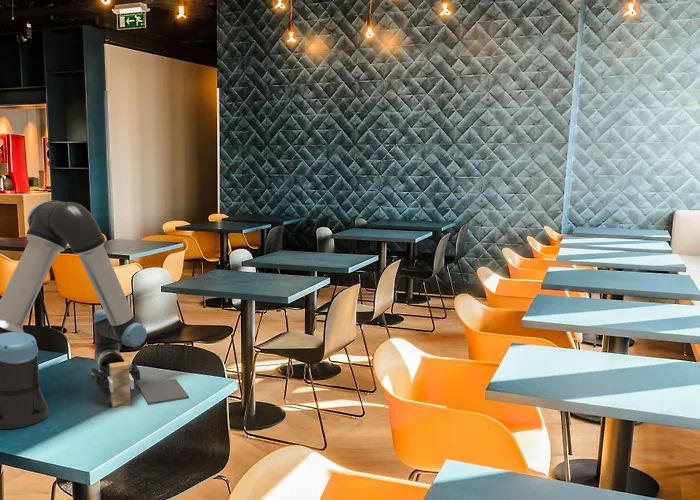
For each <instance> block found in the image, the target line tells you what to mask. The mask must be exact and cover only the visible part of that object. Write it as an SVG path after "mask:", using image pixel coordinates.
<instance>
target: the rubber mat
mask: <svg viewBox="0 0 700 500" xmlns="http://www.w3.org/2000/svg"><path fill="white" fill-rule="evenodd" d="M137 387H138V389H139V390H140V393H141V394H142V396H143V398H144V400H145V402H146V403H147V405H148V406H149V405H155V404H162V403H166V402H175V401H180V400H186V399H190V396H189V394H188V393H187V392H186V390H185V389H184V388H183V386H182V385H181V384H180V383H179V381H178V380H177V379H176V378H171V379H166V380H165V379H163V380H160V381H158V380H157V381H152V382H146V383H139V384H137Z"/></svg>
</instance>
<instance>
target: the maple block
mask: <svg viewBox="0 0 700 500" xmlns="http://www.w3.org/2000/svg"><path fill="white" fill-rule="evenodd" d="M129 366H130V364H129V363H128V361H125V362H118V363H111V364H109V372H110V377H111V380H112V382H113V390H114V392H110V405H111V406H112V408H117V407H123V406H128V405H131V404H132V401H131V387H130V381H129Z"/></svg>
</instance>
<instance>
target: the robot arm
mask: <svg viewBox="0 0 700 500" xmlns="http://www.w3.org/2000/svg"><path fill="white" fill-rule="evenodd" d="M27 224H28V230H27V232H26V233H25V238H26V240H27V244H26V246H25V248H24V251H23V253H22V255H21V257H20V258H19V261H18V263H17V265H16V267H15V269H14V271H13V273H12V275H11V277H10V280H9V281H8V284H7V285H6V287H5V289H4V292H3V294H2V295H1V298H0V430H12V429H20V428H24V427H28V426H32V425H35V424H37V423H40V422H42V421H43V420H45V419H46V418H47V417H48V416H49V406H48V404H47V400H46V399H45V397H44V394H43V392H42V389H41V387H40V372H39V371H40V369H39V367H40V366H39V347H38V344H37V340H36V338H35V337H34V336H33V335H32V334H30V333H27V332H25V331H24V327H23V326H24V324H25V322H26V320H27V319H28V316H29V313H30V311H31V310H32V307H33V306H34V304H35V301H36V299H37V296H38V294H39V293H40V291H41V289H42V286H43V285H44V282H45V280H46V278H47V277H48V274H49V272H50V269H51V267H52V265H53V263H54V261H55V259H56V257H57V254H60V253H61V252H64V251H65V250H66V248H67V246H68V245H69V247H70V249H71V252H72V253H73V254H74V255H77V256H78V258H79V259H80V262H81V264H82V266H83V268H84V270H85V273H86V275H87V277H88V279H89V281H90V283H91V286H92V287H93V290H94V292H95V294H96V296H97V298H98V300H99V302H100V305H101V307H102V308H101V309H98V310H96V311H95V312H94V313H93V330H94V331H93V332H94V359H95V361H96V362H97V364H98V368H95V367H93V368H91V377H92V378H93V379H94V381H95V384H96V386H101V385H103V388H104V389H106V388H108V389H109V393H111V392H114V390H113V382H112V380H111V377H110V372H109V364H111V363H118V362H126V361H125V360H124V357H123V356H122V354H121V352H120V344H121V345H124V346H127V347H133V348H134V347H139V346H141V345H142V344H143V343H144V342H145V341H146V338H147V335H148V334H147V333H148V331H147V329H146V327H145V326H144V324H142V323H140V322H138V321H137V320H136V317H135V315H134V313H133V311H132V309H131V306H130V303H129V300H128V299H127V296H126V295H125V292H124V289H123V288H122V285H121V282H120V281H119V278H118V276H117V273H116V272H115V269H114V267H113V264H112V262H111V260H110V258H109V255H108V253H107V251H106V250H107V249H106V248H105V246H104V245H105V243H106V239H105V237H104V235H103V232H102V230H101V229H100V226H99V225H98V222H97V221H96V219H95V218H94V216H93V215H92V214H91V212H90V210H88V209H87V208H86V207H84V205H82V204H80V203H77V202H73V201H67V202H66V201H59V200H46V201H43V202H42V201H41V202H40V203H37V204H36V205H35V206H34V207H33V208H31V210H30V211H29V214H28V217H27ZM101 375H103V376H102V377H101ZM140 379H141V371H140V369H139V368H138V363H137V362H133V363H131V364H129V381H130V390H134V389H135V383H136V382H137V381H139V380H140Z"/></svg>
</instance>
